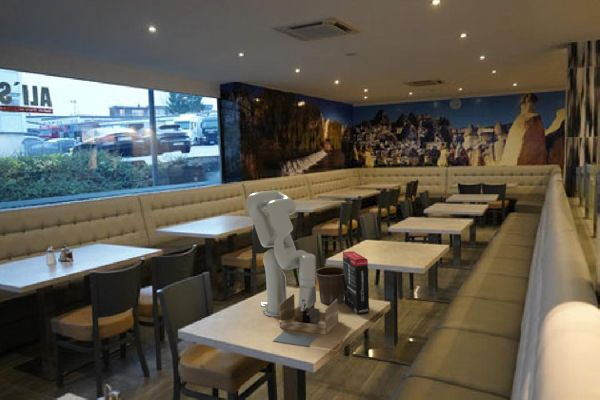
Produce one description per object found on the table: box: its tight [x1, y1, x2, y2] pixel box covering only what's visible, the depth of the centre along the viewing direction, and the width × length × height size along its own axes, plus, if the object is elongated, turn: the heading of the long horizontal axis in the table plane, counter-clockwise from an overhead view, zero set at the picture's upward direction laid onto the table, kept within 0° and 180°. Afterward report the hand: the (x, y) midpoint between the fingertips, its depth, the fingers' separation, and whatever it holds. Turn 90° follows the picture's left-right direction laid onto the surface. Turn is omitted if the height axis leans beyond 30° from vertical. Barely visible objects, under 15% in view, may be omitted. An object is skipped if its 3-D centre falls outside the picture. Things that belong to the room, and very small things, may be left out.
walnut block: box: [294, 305, 320, 324], centre depth 205 cm, size 10×5×6 cm, turn 67°
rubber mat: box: [272, 331, 318, 348], centre depth 191 cm, size 16×10×1 cm, turn 67°
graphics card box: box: [342, 250, 370, 316], centre depth 221 cm, size 17×7×27 cm, turn 17°
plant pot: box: [316, 266, 345, 306], centre depth 234 cm, size 16×16×16 cm
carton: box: [278, 294, 340, 335], centre depth 204 cm, size 22×18×11 cm
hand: (308, 320), depth 205 cm, fingers closed on walnut block, 5 cm apart
